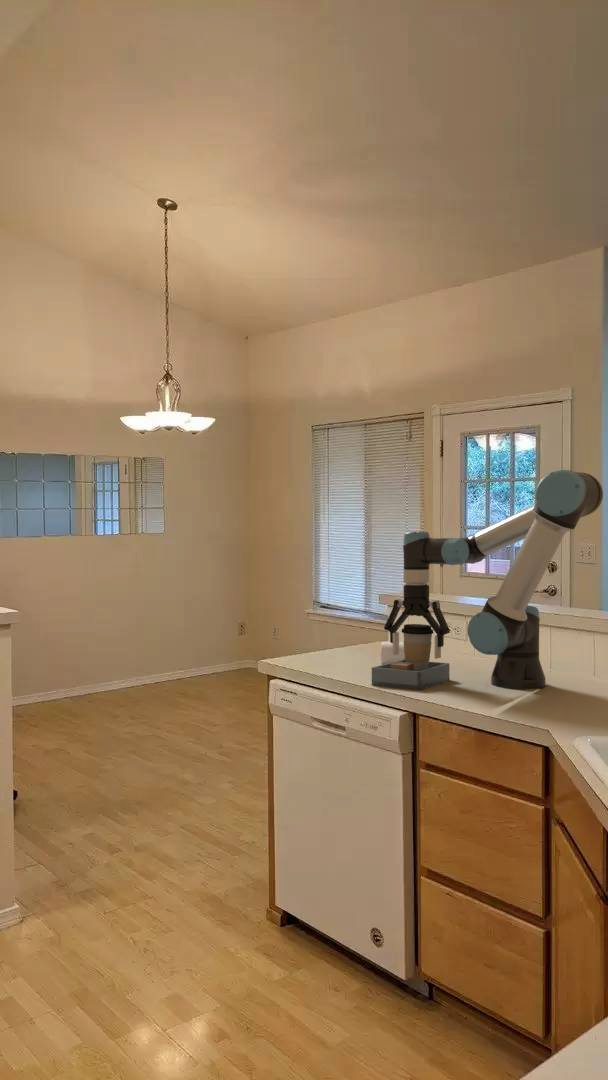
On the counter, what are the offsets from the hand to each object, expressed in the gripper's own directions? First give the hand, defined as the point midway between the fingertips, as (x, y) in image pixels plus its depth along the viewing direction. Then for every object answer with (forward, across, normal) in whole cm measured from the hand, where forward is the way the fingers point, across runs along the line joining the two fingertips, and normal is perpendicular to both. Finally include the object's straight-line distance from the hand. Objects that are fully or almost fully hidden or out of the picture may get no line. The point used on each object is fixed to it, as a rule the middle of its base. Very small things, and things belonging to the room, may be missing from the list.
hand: (416, 656), depth 251 cm
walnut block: (+6, 0, +9) cm, 11 cm away
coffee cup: (+6, 0, 0) cm, 6 cm away
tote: (+7, 0, +4) cm, 8 cm away
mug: (+8, +19, -24) cm, 31 cm away
